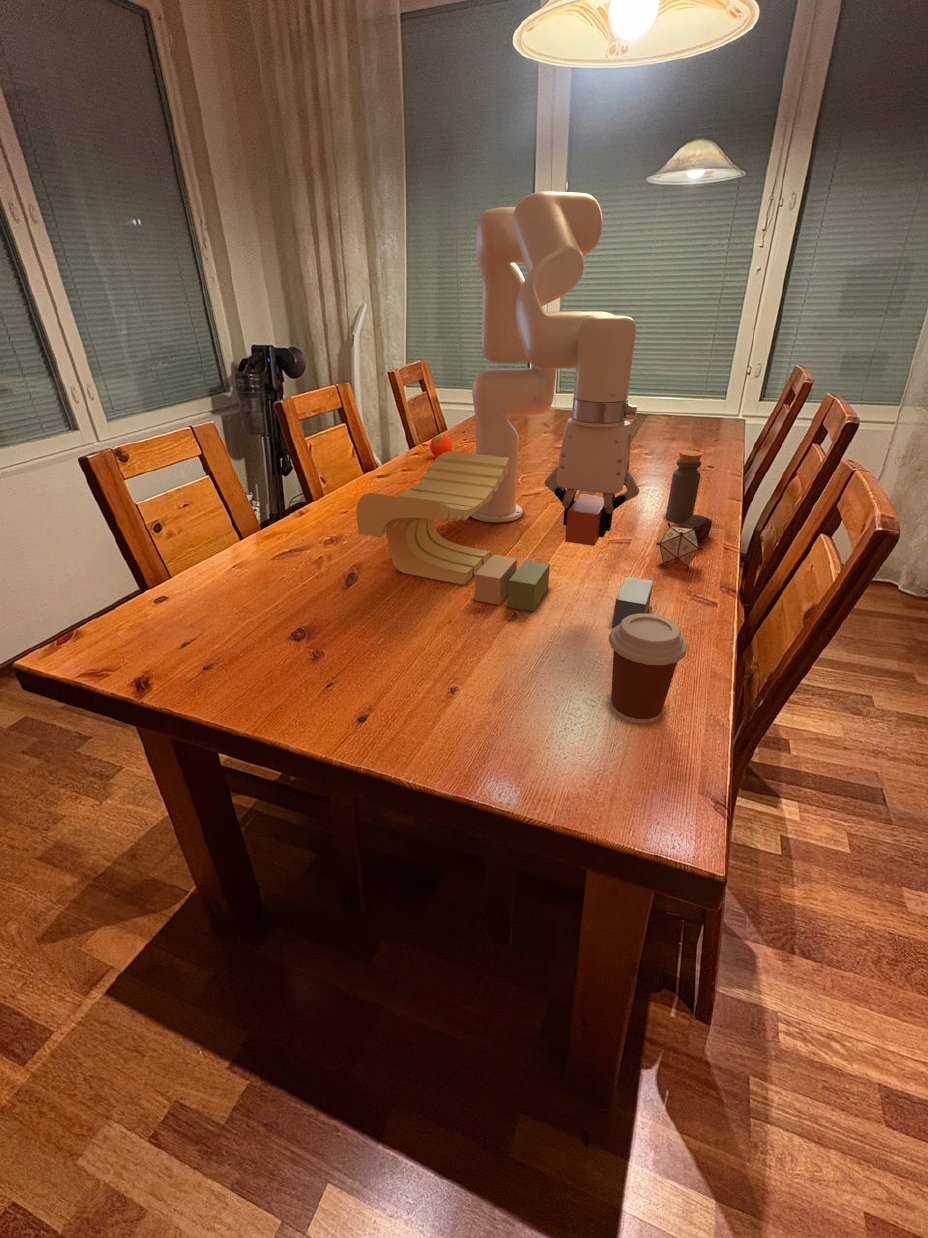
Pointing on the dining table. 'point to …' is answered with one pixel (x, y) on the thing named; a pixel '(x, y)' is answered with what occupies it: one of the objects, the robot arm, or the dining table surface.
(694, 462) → the bottle
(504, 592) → the block
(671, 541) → the game die
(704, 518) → the brick
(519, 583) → the block
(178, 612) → the dining table surface
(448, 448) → the tomato
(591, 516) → the loose block
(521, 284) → the robot arm
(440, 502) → the slatted curved stool
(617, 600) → the block
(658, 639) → the coffee cup
